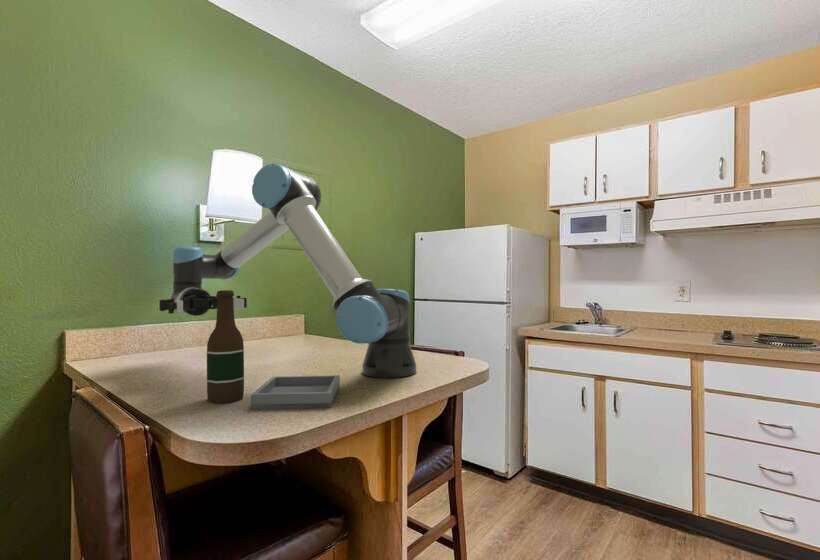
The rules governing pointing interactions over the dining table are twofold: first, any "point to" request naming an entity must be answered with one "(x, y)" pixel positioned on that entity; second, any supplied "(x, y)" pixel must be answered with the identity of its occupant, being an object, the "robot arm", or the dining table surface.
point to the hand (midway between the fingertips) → (213, 305)
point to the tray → (296, 392)
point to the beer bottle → (225, 355)
